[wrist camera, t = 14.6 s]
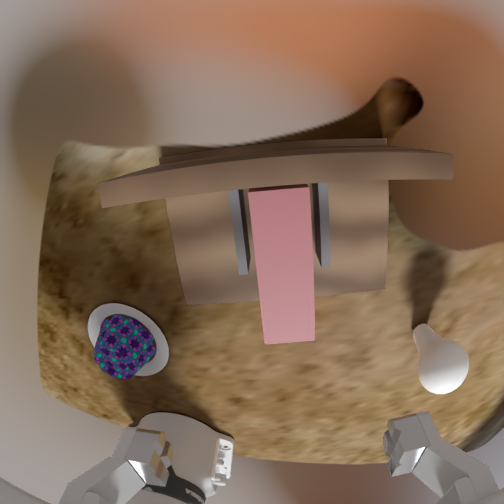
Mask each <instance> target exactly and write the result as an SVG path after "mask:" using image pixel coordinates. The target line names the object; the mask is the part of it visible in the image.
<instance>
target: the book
mask: <svg viewBox="0 0 504 504" xmlns="http://www.w3.org/2000/svg"><path fill="white" fill-rule="evenodd" d="M248 199H249V208H250V216H251V225H252V234H253V243H254V252H255V261H256V270H257V279H258V288H259V297H260V306H261V315H262V324H263V333H264V342H265V344H275V343H289V342H301V341H312V340H315V311H314V267H313V242H312V222H311V205H310V190H309V186H308V185H307V184H295V185H282V186H270V187H259V188H249V191H248Z"/></svg>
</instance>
